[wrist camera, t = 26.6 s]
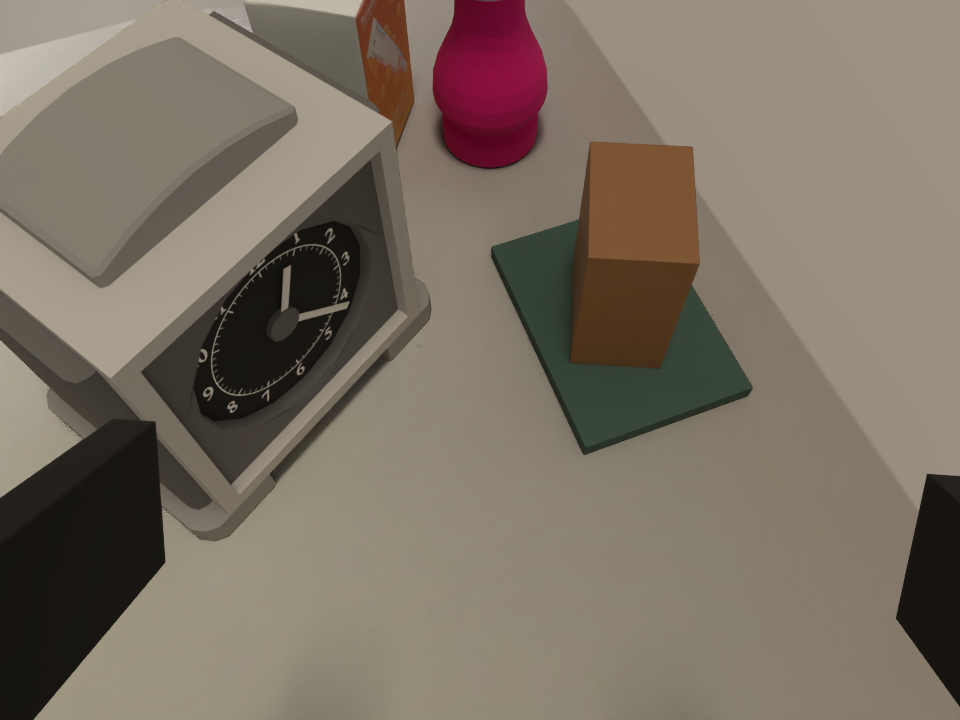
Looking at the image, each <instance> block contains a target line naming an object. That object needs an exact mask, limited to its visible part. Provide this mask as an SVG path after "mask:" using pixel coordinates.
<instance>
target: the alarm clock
mask: <svg viewBox="0 0 960 720" xmlns="http://www.w3.org/2000/svg"><path fill="white" fill-rule="evenodd" d="M430 314H431V303H430V295H429V293H428V290H427V288H426V286H425V284H424V283H423V282H421V281H420V280H418V279H416V278H415V277H414V270H413V263H412V256H411V250H410V243H409V236H408V229H407V222H406V215H405V208H404V201H403V194H402V187H401V180H400V173H399V166H398V159H397V152H396V145H395V138H394V131H393V124H392V121H390V120H389V119H387V118H385V117H384V116H382V115H380V111H379V109H378V108H377V107H376V105H375V104H374V103H372V102H371V101H369V100H367V99H365V98H364V97H362V96H360V95H358V94H357V93H355V92H353V91H352V90H350V89H348V88H346V87H345V86H343V85H341V84H339V83H338V82H336V81H334V80H332V79H331V78H329V77H327V76H326V75H324V74H322V73H320V72H319V71H317V70H315V69H313V68H312V67H310V66H308V65H306V64H305V63H303V62H301V61H300V60H298V59H296V58H294V57H293V56H291V55H289V54H287V53H286V52H284V51H282V50H280V49H279V48H277V47H275V46H274V45H272V44H270V43H268V42H267V41H265V40H263V39H261V38H260V37H258V36H256V35H254V34H253V33H251V32H249V31H248V30H246V29H244V28H242V27H241V26H239V25H237V24H235V23H234V22H232V21H230V20H228V19H227V18H225V17H223V16H222V15H220V14H218V13H216V12H215V11H214V12H212V13H211V14H210V15H208V14H206V13H204V12H203V11H201V10H199V9H197V8H196V7H194V6H192V5H191V4H189V3H187V2H186V1H184V0H164V1H163V2H162V3H160V4H159V5H157V6H156V7H154V8H153V9H152V10H150V11H149V12H147V13H146V14H145V15H143V16H142V17H141V18H139V19H138V20H136V21H135V22H133V23H132V24H131V25H129V26H128V27H126V28H125V29H124V30H122V31H121V32H119V33H118V34H117V35H115V36H114V37H112V38H111V39H110V40H108V41H107V42H105V43H104V44H103V45H101V46H100V47H98V48H97V49H96V50H94V51H93V52H91V53H90V54H89V55H87V56H86V57H84V58H83V59H82V60H80V61H79V62H77V63H76V64H75V65H73V66H72V67H70V68H69V69H68V70H66V71H65V72H63V73H62V74H61V75H59V76H58V77H56V78H55V79H54V80H52V81H51V82H49V83H48V84H47V85H45V86H44V87H42V88H41V89H40V90H38V91H37V92H35V93H34V94H33V95H31V96H30V97H28V98H27V99H26V100H24V101H23V102H21V103H20V104H19V105H17V106H16V107H14V108H13V109H12V110H10V111H9V112H7V113H6V114H5V115H3V116H2V117H0V340H1V341H2V342H3V343H4V344H5V345H6V346H7V347H8V348H9V349H10V350H11V351H12V352H13V353H15V354H16V355H17V356H18V357H19V358H20V359H21V360H22V361H23V362H24V363H25V364H26V365H27V366H28V367H29V368H30V369H31V370H32V371H33V372H34V373H35V374H36V375H37V376H38V377H39V378H41V379H42V380H43V381H44V382H45V383H46V384H47V385H48V386H49V387H50V389H49V391H48V394H47V400H48V406H49V409H50V410H51V411H52V412H53V413H55V414H56V415H57V416H58V417H59V418H60V419H61V420H62V421H63V422H65V423H66V424H67V425H68V426H69V427H70V428H72V429H73V430H74V431H75V432H76V433H77V434H78V435H80V436H81V437H82V438H83V439H85V438H86V437H87V436H89V435H90V434H92V433H93V432H95V431H96V430H97V429H99V428H100V427H102V426H103V425H104V424H106V423H107V422H109V421H110V420H112V419H127V420H142V421H156V432H157V447H158V461H159V476H160V490H161V505H162V507H163V508H165V509H166V510H167V511H168V512H169V513H170V514H172V515H173V516H174V517H175V518H176V519H177V520H179V521H180V522H181V523H182V524H183V525H184V526H186V527H187V528H188V529H189V530H190V531H191V532H193V533H194V534H195V535H196V536H197V537H198V538H200V539H204V540H213V541H217V540H219V539H222V538H225V537H227V536H229V535H230V534H231V533H232V532H233V531H234V530H235V529H236V528H237V527H238V526H239V525H240V524H241V523H242V521H243V520H244V519H245V518H246V517H247V516H248V515H249V514H250V513H251V512H252V511H253V510H254V508H255V507H256V506H257V505H258V504H259V503H260V502H261V501H262V500H263V499H264V498H265V497H266V496H267V494H268V493H269V492H270V491H271V490H272V489H273V488H274V487H275V486H276V485H277V484H276V483H275V481H274V480H273V478H272V477H271V475H270V473H271V472H272V471H273V470H274V469H275V468H276V467H277V465H278V464H279V463H280V462H281V461H282V460H283V459H284V458H285V457H286V456H287V455H288V454H289V453H290V452H291V450H292V449H293V448H294V447H295V446H296V445H297V444H298V443H299V442H300V441H301V440H302V439H303V438H304V437H305V436H306V434H307V433H308V432H309V431H310V430H311V429H312V428H313V427H314V426H315V425H316V424H317V423H318V422H319V421H320V420H321V418H322V417H323V416H324V415H325V414H326V413H327V412H328V411H329V410H330V409H331V408H332V407H333V406H334V405H335V404H336V402H337V401H338V400H339V399H340V398H341V397H342V396H343V395H344V394H345V393H346V392H347V391H348V390H349V389H350V388H351V386H352V385H353V384H354V383H355V382H356V381H357V380H358V379H359V378H360V377H361V376H362V375H363V374H364V373H365V372H366V370H367V369H368V368H369V367H370V366H371V365H372V364H373V363H374V362H375V361H376V360H377V359H378V358H379V357H380V355H381V354H382V355H383V356H385V357H386V358H387V359H389V360H390V361H392V360H393V358H394V357H395V356H396V355H397V354H398V353H399V352H400V351H401V350H402V349H403V348H404V347H405V346H406V344H407V343H408V342H409V341H410V340H411V339H412V338H413V337H414V336H415V335H416V334H417V333H418V331H419V330H420V329H421V328H422V327H423V326H424V325H425V324H426V323H427V322H428V321H429V319H430Z"/></svg>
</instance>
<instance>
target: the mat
mask: <svg viewBox="0 0 960 720" xmlns="http://www.w3.org/2000/svg"><path fill="white" fill-rule="evenodd" d="M578 223H579V220H576V221H573V222H570V223H567V224H564V225H560V226H557V227H554V228H551V229H548V230H544V231H541V232H538V233H535V234H532V235H528V236H525V237H522V238H519V239H516V240H512V241H509V242H506V243H503V244H499V245H496V246H493V247H491V257H492V259H493V261H494V263H495V265H496V268H497V270H498V272H499V274H500V276H501V278H502V280H503V283H504V285H505V287H506V289H507V291H508V293H509V295H510V298H511V300H512V302H513V304H514V306H515V308H516V310H517V313H518V315H519V317H520V319H521V321H522V323H523V325H524V328H525V330H526V332H527V334H528V336H529V338H530V340H531V343H532V345H533V347H534V349H535V351H536V353H537V355H538V358H539V360H540V362H541V364H542V366H543V368H544V370H545V373H546V375H547V377H548V379H549V381H550V383H551V385H552V387H553V390H554V392H555V394H556V396H557V398H558V400H559V402H560V405H561V407H562V409H563V411H564V413H565V415H566V417H567V420H568V422H569V424H570V426H571V428H572V430H573V432H574V435H575V437H576V439H577V441H578V443H579V445H580V447H581V450H582V452H583V454H587V453H590V452H593V451H595V450H598V449H601V448H604V447H607V446H609V445H612V444H615V443H618V442H620V441H623V440H626V439H629V438H632V437H634V436H637V435H640V434H643V433H645V432H648V431H651V430H654V429H656V428H659V427H662V426H665V425H668V424H670V423H673V422H676V421H679V420H681V419H684V418H687V417H690V416H693V415H695V414H698V413H701V412H704V411H706V410H709V409H712V408H715V407H717V406H720V405H723V404H726V403H729V402H731V401H734V400H737V399H740V398H742V397H745V396H748V395H749V393H750V392H751V390H752V388H753V387H752V385H751V383H750V382H749V380H748V378H747V377H746V375H745V373H744V372H743V370H742V368H741V367H740V365H739V363H738V362H737V360H736V358H735V357H734V355H733V353H732V352H731V350H730V348H729V347H728V345H727V343H726V342H725V340H724V338H723V337H722V335H721V333H720V331H719V330H718V328H717V326H716V325H715V323H714V321H713V320H712V318H711V316H710V315H709V313H708V311H707V310H706V308H705V306H704V305H703V303H702V301H701V300H700V298H699V296H698V295H697V293H696V291H695V290H694V288H693V286H692V285H691V288H690V290H689V293H688V296H687V298H686V301H685V304H684V306H683V309H682V312H681V314H680V317H679V320H678V322H677V325H676V328H675V330H674V333H673V336H672V338H671V341H670V344H669V346H668V349H667V351H666V354H665V357H664V359H663V362H662V365H661V367H660V368H644V367H628V366H612V365H596V364H580V363H570V343H571V310H572V277H573V257H574V251H575V244H576V237H577V230H578Z"/></svg>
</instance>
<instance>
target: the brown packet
mask: <svg viewBox="0 0 960 720" xmlns="http://www.w3.org/2000/svg"><path fill="white" fill-rule="evenodd" d="M699 264H700V259H699V242H698V225H697V209H696V192H695V176H694V158H693V147H688V146H668V145H648V144H627V143H607V142H591V143H590V148H589V154H588V161H587V168H586V175H585V182H584V189H583V196H582V202H581V209H580V216H579V223H578V230H577V237H576V244H575V251H574V257H573V277H572V310H571V343H570V363H580V364H596V365H612V366H628V367H644V368H660V367H661V365H662V362H663V359H664V357H665V354H666V351H667V349H668V346H669V344H670V341H671V338H672V336H673V333H674V330H675V328H676V325H677V322H678V320H679V317H680V314H681V312H682V309H683V306H684V304H685V301H686V298H687V296H688V293H689V290H690V288H691V285H692V283H693V280H694V277H695V275H696V272H697V269H698V267H699Z"/></svg>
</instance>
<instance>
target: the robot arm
mask: <svg viewBox="0 0 960 720" xmlns="http://www.w3.org/2000/svg"><path fill="white" fill-rule="evenodd" d="M164 563H165V549H164V534H163V520H162V505H161V490H160V476H159V461H158V447H157V432H156V421H142V420H127V419H112V420H110V421H109V422H107V423H106V424H104V425H103V426H102V427H100V428H99V429H97V430H96V431H95V432H93V433H92V434H90V435H89V436H87V437H86V438H85V439H83V440H82V441H80V442H79V443H78V444H76V445H75V446H73V447H72V448H70V449H69V450H68V451H66V452H65V453H63V454H62V455H61V456H59V457H58V458H56V459H55V460H53V461H52V462H51V463H49V464H48V465H46V466H45V467H43V468H42V469H41V470H39V471H38V472H36V473H35V474H34V475H32V476H31V477H29V478H28V479H26V480H25V481H24V482H22V483H21V484H19V485H18V486H17V487H15V488H14V489H12V490H11V491H9V492H8V493H7V494H5V495H4V496H2V497H1V498H0V720H34V718H35V717H36V716H37V715H38V714H39V712H40V711H41V710H42V709H43V708H44V706H45V705H46V704H47V703H48V702H49V700H50V699H51V698H52V697H53V696H54V695H55V693H56V692H57V691H58V690H59V689H60V687H61V686H62V685H63V684H64V683H65V681H66V680H67V679H68V678H69V677H70V675H71V674H72V673H73V672H74V671H75V669H76V668H77V667H78V666H79V665H80V664H81V662H82V661H83V660H84V659H85V658H86V656H87V655H88V654H89V653H90V652H91V650H92V649H93V648H94V647H95V646H96V644H97V643H98V642H99V641H100V640H101V638H102V637H103V636H104V635H105V634H106V632H107V631H108V630H109V629H110V628H111V627H112V625H113V624H114V623H115V622H116V621H117V619H118V618H119V617H120V616H121V615H122V613H123V612H124V611H125V610H126V609H127V607H128V606H129V605H130V604H131V603H132V601H133V600H134V599H135V598H136V597H137V596H138V594H139V593H140V592H141V591H142V590H143V588H144V587H145V586H146V585H147V584H148V582H149V581H150V580H151V579H152V578H153V576H154V575H155V574H156V573H157V572H158V570H159V569H160V568H161V567H162V566H163V565H164ZM896 619H897V620H898V622H899V623H900V625H901V626H902V627H903V629H904V630H905V632H906V633H907V634H908V636H909V637H910V638H911V640H912V641H913V643H914V644H915V645H916V647H917V648H918V650H919V651H920V652H921V654H922V655H923V656H924V658H925V659H926V661H927V662H928V663H929V665H930V666H931V668H932V669H933V670H934V672H935V673H936V674H937V676H938V677H939V679H940V680H941V681H942V683H943V684H944V686H945V687H946V688H947V690H948V691H949V692H950V694H951V695H952V697H953V698H954V699H955V701H956V702H957V704H958V705H959V706H960V476H948V475H935V474H927V477H926V481H925V486H924V491H923V495H922V500H921V505H920V509H919V514H918V518H917V523H916V528H915V532H914V537H913V542H912V546H911V551H910V555H909V560H908V565H907V569H906V574H905V579H904V583H903V588H902V592H901V597H900V602H899V606H898V611H897V616H896Z"/></svg>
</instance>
